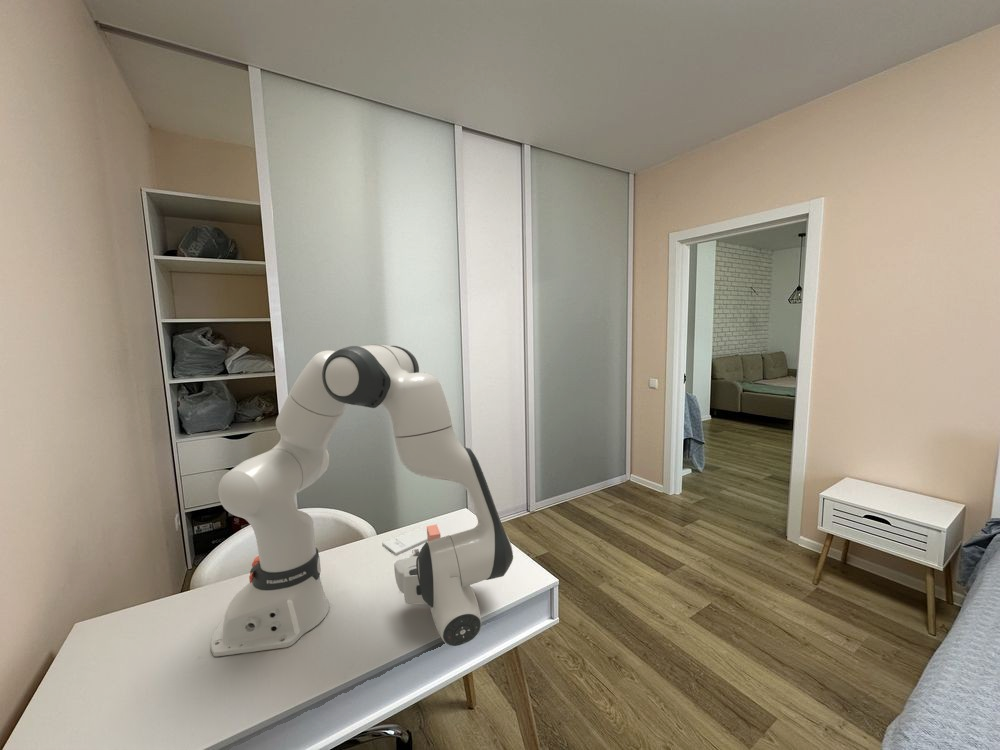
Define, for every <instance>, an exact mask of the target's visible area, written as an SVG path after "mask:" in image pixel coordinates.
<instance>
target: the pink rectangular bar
mask: <svg viewBox="0 0 1000 750" xmlns="http://www.w3.org/2000/svg"><path fill="white" fill-rule="evenodd" d="M426 532H427V538H428V541H427V542H429V541H431V540H435V539H438V538H441V532H440V529H439V527H438V524H432V525H427V526H426Z"/></svg>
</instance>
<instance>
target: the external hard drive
mask: <svg viewBox="0 0 1000 750" xmlns="http://www.w3.org/2000/svg"><path fill="white" fill-rule="evenodd" d="M426 542H428V538H427V531H425V530H424V529H422V528H420V527H416V528H413V529H412V530H410V531H407V532H404V533H403V534H401V535H398V536H396V537H393V538H391V539H388V540H387V541H384V542H382V547H384V548H385V549H386V550H387V551H388V550H389V552H390V553H392V554H393V556H395V557H397V556H399V555H400V554H403V553H405V552H408V551H410V550H413V549H415V548H416V547H419V546H420V545H424V544H425V543H426Z"/></svg>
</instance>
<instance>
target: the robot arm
mask: <svg viewBox="0 0 1000 750" xmlns="http://www.w3.org/2000/svg"><path fill="white" fill-rule="evenodd" d="M446 398H447V397H446V396H445V393H444V390H443V387H442V386H441V383H440V381H439V379H438V378H436V376H434V375H432V374H430V373H426V372H420V367H419V363H418V360H417V359H416V357H415V355H413V353H412V352H410V351H409V350H408V349H405V348H404V347H401V346H398V345H387V344H369V345H360V346H357V345H351V346H350V345H349V346H347V347H346V346H345V347H343V348H341V349H340V348H339V349H338V350H336V351H335V350H330V349H329V350H328V349H327V350H322V351H319V352H317V353H316V354H315V355H314V356H313V357H311V359H310V361H308V363H307V364H306V365H305V367H304V368H302V370H301V372H300V373H299V376H298V377H297V378H296V381H295V382H294V384H293V385H292V387H291V389H290V391H289V393H288V396H287V397H286V399H285V401H284V403H283V405H282V407H281V409H280V411H279V414H278V415H277V417H276V420H275V427H276V430H277V432H278V434H279V435H280V439H279V441H278V443H277V444H276V445H275V446H273V447H272V449H269V450H267V451H265V452H262V453H260V454H258V455H256V456H253V457H250V458H248V459H246V460H244V461H242V462H239V464H237V465H236V466H234V467H233V468H232V469H230V470H229V471H227V472H226V473H225V474H224V475H223V476H222V477H221V479H220V481H219V483H218V488H217V495H218V499H219V502H220V504H221V506H222V507H223V509H224V510H225V511H227V512H228V513H229V514H231V515H233V516H235V517H238V518H240V519H241V518H242V519H244V520H245V521H246V522H248V524H249V525H250V527H251V528H252V530H253V533H254V535H255V536H254V537H255V539H256V545H257V553H258V556H256V557H255V558H254V559H253V561H252V564H251V566H252V567H251V569H250V571H249V576H248V578H249V582H248V583H247V584H245V586H243V588H242V589H240V590H239V591H238V592H237V593H236V594H234V595H235V596H234V597H233V598H232V599H231V600H230V602H229V604H228V606H227V608H226V610H225V613H224V617H223V619H222V620H221V621H220V623H219V625H218V626H217V628H216V629H215V631H214V633H213V635H212V638H211V642H210V644H211V645H210V647H211V648H210V649H211V650H210V651H211V654H212V655H213V656H214V657H224V656H231V655H237V654H246V653H254V652H260V651H268V650H275V649H284V648H288V647H291V646H292V645H294V644H295V643H296V642H298V640H300V638H301V637H302V636H303V635H305V634H306V633H308V632H309V631H311V630H313V629H314V628H315V627H316V626H318V625H319V624H320V623H322V621H323V620H324V619H325V618H326V616H327V614H328V612H329V610H330V602H329V601H328V599H327V596H326V593H325V590H324V587H323V585H322V581H321V580H322V579H321V571H322V569H321V557H320V555H319V549H318V547H317V546H316V536H315V526H314V525H315V524H314V520H313V517H312V516H311V515H310V514H309V513H307V512H306V511H305V512H304V511H302V510H298V507H297V504H296V501H295V498H296V495H297V494H298V493H300V492H301V491H303V490H305V489H307V488H308V487H309V486H312V485H313V484H314V483H316V482H317V481H318V479H320V478H321V477H322V476H323V475H324V474H325V472H326V471H327V470H328V468H329V466H330V454H329V452H328V451H329V450H328V445H329V441H330V439H331V437H332V435H333V433H334V431H335V429H336V427H337V425H338V424H339V422H340V420H341V418H342V416H343V414H344V412H345V411H346V409H347V406H348V405H352V406H359V407H365V408H371V409H376V408H378V407H379V406H380V405H381V406H382V407H384V408H385V409H386V410H387V411H388V413H389V416H390V419H391V423H392V430H393V436H394V441H395V445H396V450H397V454H398V457H399V461H400V462H401V464H402V465H403V466H404V468H406V470H408V471H410V472H411V473H413V474H415V475H417V476H420V477H424V478H427V479H433V480H442V481H450V482H454V483H458V484H460V485H462V486H463V487H464V488H465V490H466V492H467V495H468V497H469V500H470V503H471V506H472V508H473V511H474V514H475V516H476V520H477V525H476V526H474V527H473V528H471V529H467V530H463V531H461V532H457V533H453V534H450V535H449V534H448V535H446V536H442V537H441V536H440V537H441V538H438V539H435V540H431V541H429V542H428V541H427V542H425V543H423V544H422V547H421V549H420V551H419V548H416V549H415V548H414V549H411V550H412V552H411V555H409V557H407V558H401V559H398V560H396V561H395V562H394V563H393V566H394V577H395V582H396V585H397V588H398V590H399V592H401V594H403V596H404V602H405V603H406V604H408V605H422V604H423V605H428V606H429V607H430V612H431V617H432V619H433V623H434V626H435V628H436V630H437V632H438V634H439V636H440V638H441V639H442V641H443V642H444V644H446V645H447V646H452V647H457V646H461V645H464V644H466V643H469V642H471V641H472V640H474V639H475V637H476V636H477V635H478V634H479V632H480V631H481V630H482V629H481V628H482V616H481V610H480V606H479V603H478V600H477V597H476V595H475V592H474V589H473V588H472V587H471V585H474V584H478V583H479V582H483V581H489V580H493V579H497V578H503V577H504V576H505V575H506V573H507V572H508V570H509V569H510V566H511V565H512V562H513V560H514V552H513V546H512V544H511V541H510V538H509V536H508V534H507V532H506V531H505V529H504V526H503V524H502V521H501V519H500V516H499V514H498V513H499V512H498V510H497V507H496V505H495V502H494V499H493V496H492V493H491V490H490V488H489V485H488V482H487V480H486V477H485V475H484V471H483V470H482V468H481V465H480V462H479V460H478V459H477V457H476V455H475V453H474V452H473V451H472V449H471V448H469V447H465V446H464V445H462V444H461V443H460V441H459V440H458V438H457V436H456V434H455V431H454V428H453V422H452V417H451V413H450V410H449V405H448V401H447V399H446Z"/></svg>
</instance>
